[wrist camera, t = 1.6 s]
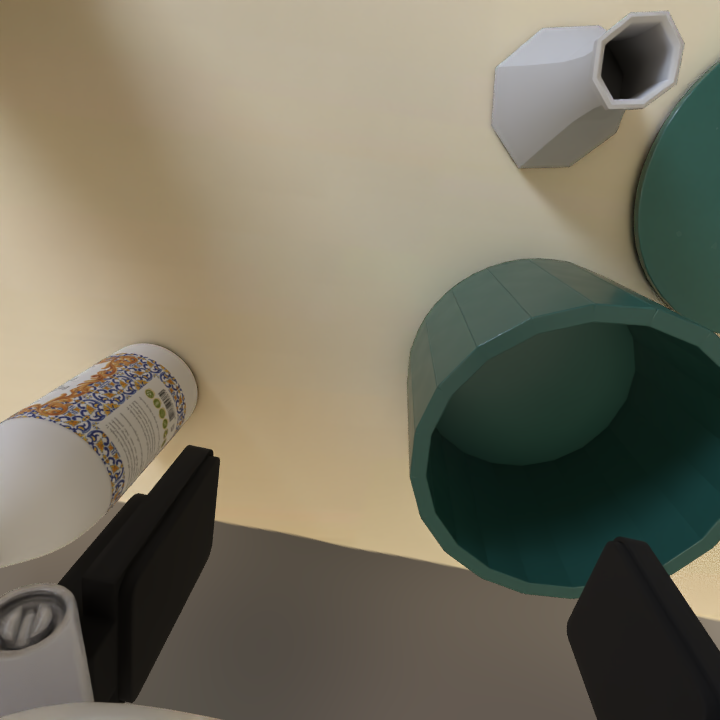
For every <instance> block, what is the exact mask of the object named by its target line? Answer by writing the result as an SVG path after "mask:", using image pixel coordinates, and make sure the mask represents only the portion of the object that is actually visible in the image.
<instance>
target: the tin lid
mask: <svg viewBox="0 0 720 720" xmlns="http://www.w3.org/2000/svg"><path fill="white" fill-rule="evenodd" d="M634 234H635V242H636V249H637V252H638V256H639V259H640V263H641V266H642V268H643V270H644V272H645V274H646V277H647V279H648V281H649V282H650V284H651V285H652V287H653V288H654V290H655V291H656V293H657V294H658V295H659V296H660V298H661V299H662V300H663V301H664V302H665V303H666V304H667V305H668V306H669V307H670V308H671V309H673V310H674V311H675V312H677V313H678V314H680V315H682V316H684V317H686V318H688V319H690V320H692V321H694V322H696V323H698V324H700V325H702V326H704V327H706V328H708V329H710V330H711V331H713V332H716V333H719V334H720V61H719V62H717V63H716V64H715V65H714V66H712V67H711V68H710V69H709V70H708V71H707V72H706V73H705V74H704V75H703V76H702V77H701V78H700V79H699V80H698V81H697V82H696V83H695V84H694V85H693V86H692V87H691V88H690V90H689V91H688V92H687V93H686V94H685V96H684V97H683V98H682V99H681V100H680V101H679V103H678V104H677V105H676V107H675V108H674V109H673V111H672V112H671V114H670V115H669V117H668V118H667V120H666V121H665V123H664V124H663V126H662V128H661V130H660V131H659V133H658V135H657V137H656V139H655V141H654V143H653V145H652V147H651V149H650V151H649V154H648V156H647V159H646V161H645V164H644V166H643V169H642V173H641V176H640V180H639V184H638V188H637V193H636V200H635V207H634Z"/></svg>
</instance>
